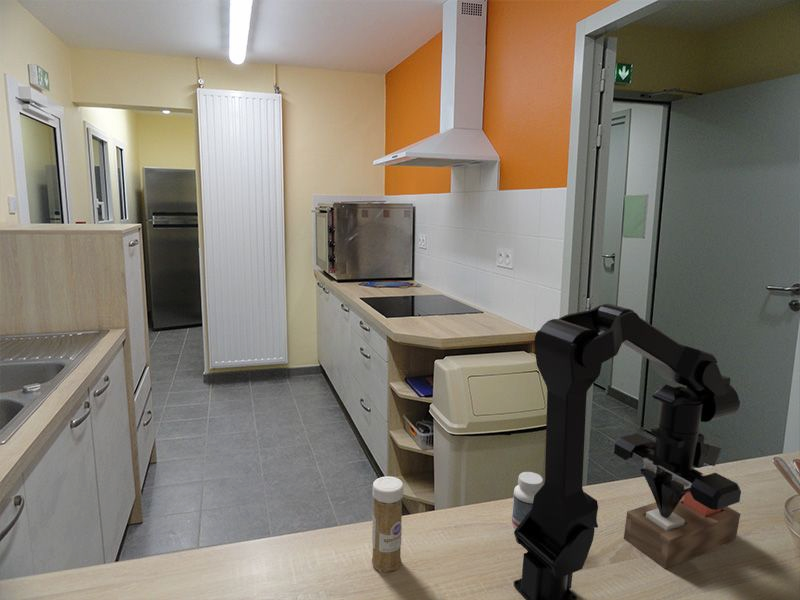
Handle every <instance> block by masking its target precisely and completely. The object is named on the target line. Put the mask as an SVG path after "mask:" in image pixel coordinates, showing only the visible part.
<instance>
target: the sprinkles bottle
mask: <svg viewBox="0 0 800 600" xmlns="http://www.w3.org/2000/svg"><path fill="white" fill-rule="evenodd" d="M403 496H404V483H403V481H402V480H401V479H399V478H398V477H395V476H381V477H379V478H376V479H375V480H374V481H373V483H372V498H373V504H372V505H373V507H372V510H373V511H372V532H371V533H372V535H371V537H372V539H371V542H372V543H371V544H372V558H371V565H372V566H373V568H374V569H375V570H377V571H379V572H383V573H384V572H385V573H387V572H388V573H390V572H394V571H395V570H397V569H398V568H399V567H400V565H401V563H402V559H401V548H402V547H401V545H402V534H403V533H402V531H403V530H402V527H403V526H402V517H403V516H402V515H403V514H402V511H403V505H402V503H403Z"/></svg>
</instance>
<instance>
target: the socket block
mask: <svg viewBox="0 0 800 600" xmlns="http://www.w3.org/2000/svg"><path fill="white" fill-rule="evenodd" d="M683 502H684V496H683V497H682V499H681V500H680V501H679V503H678V504H677V506H676V507H675V509H674V510H673V513H675V514H676V515H678V516H680V517H681V518H683V519H684V520H685V523H684V526H681V527H678V528H676V529H673V530H670V531H666V530H665V529H663V528H662V527H660V526H659V525H657V524H656V523H654V522H653V521H651V520H650V519H648V518H647V517H646V512H648V511H651V510H654V509H657V508H658V506H657V504H656V501H655V502H652V503H650V504H647V505H642V506H640V507H637V508H635V509H630V510H628V511H627V510H626V518H625V525H624V532H623V539H624V540H625V541H626V542H628V543H629V544H631V545H632V546H633V547H635V548H636V549H637V550H639V551H640V553H643V554H644V555H646V556H647V557H648V558H650V560H652V561H654V562H655V563H657V564H658V565H659V566H660V567H662V568H663V569H665V570H666V569H669V568H671V567H674V566H676V565H678V564H681V563H684V562H686V561H689V560H690V559H694V558H696V557H699V556H701V555H703V554H706V553H708V552H711V551H714V550H715V549H718V548H721V547H724V546H725V545H728V544H730V543H733V542H735V541H737V535H738V530H739V523H740V518H741V513H740V512H738V510H735V509H733V508H731V507H729V506H727V507H724V508H721V512H720V513H717V514H714V515H711V516H709V517H704V516H702V515H701V514H699V513H697V512H696V511H694V510H692V509H691V508H689V507H687V506H686V505H684V504H683Z"/></svg>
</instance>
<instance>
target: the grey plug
mask: <svg viewBox="0 0 800 600" xmlns="http://www.w3.org/2000/svg"><path fill="white" fill-rule="evenodd" d="M646 517H647V518H648V519H650V520H651V521H653V522H654V523H656V524H657V525H659V526H660V527H662V528H663V529H665V530H666V531H670V530H673V529H676V528H678V527H681V526H684V523H685V520H684V519H683V518H681V517H680V516H678V515H676V514H675V513H673V512H672V513H671V515H670V516H669V517H667V518H664V517H663V516H661V514H660V512H659V509H658V508H657V509H654V510H651V511H648V512H646Z"/></svg>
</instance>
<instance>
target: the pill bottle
mask: <svg viewBox="0 0 800 600" xmlns="http://www.w3.org/2000/svg"><path fill="white" fill-rule="evenodd" d="M543 482H544V479H543V476H541V475H540V474H539V473H536V472H532V471H523V472H521V473H520V474H519V475H518V479H517V483H518V484H517V485H516V486H515V487H514V490H513V503H512V512H511V513H512V514H511V521H510V522H511V525H512V526H513V528H514V529H516V528H517V527H518V526H519V524H520V523H521V522H522V521H523V519H524V518H525V517H526V515H527V514H528V513H529V511H530V510H531V509H532V506H533V500H534V495H535V494H536V493H537V491H538V490H539V489H540V488H541V487H542V486H543V484H544V483H543Z"/></svg>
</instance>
